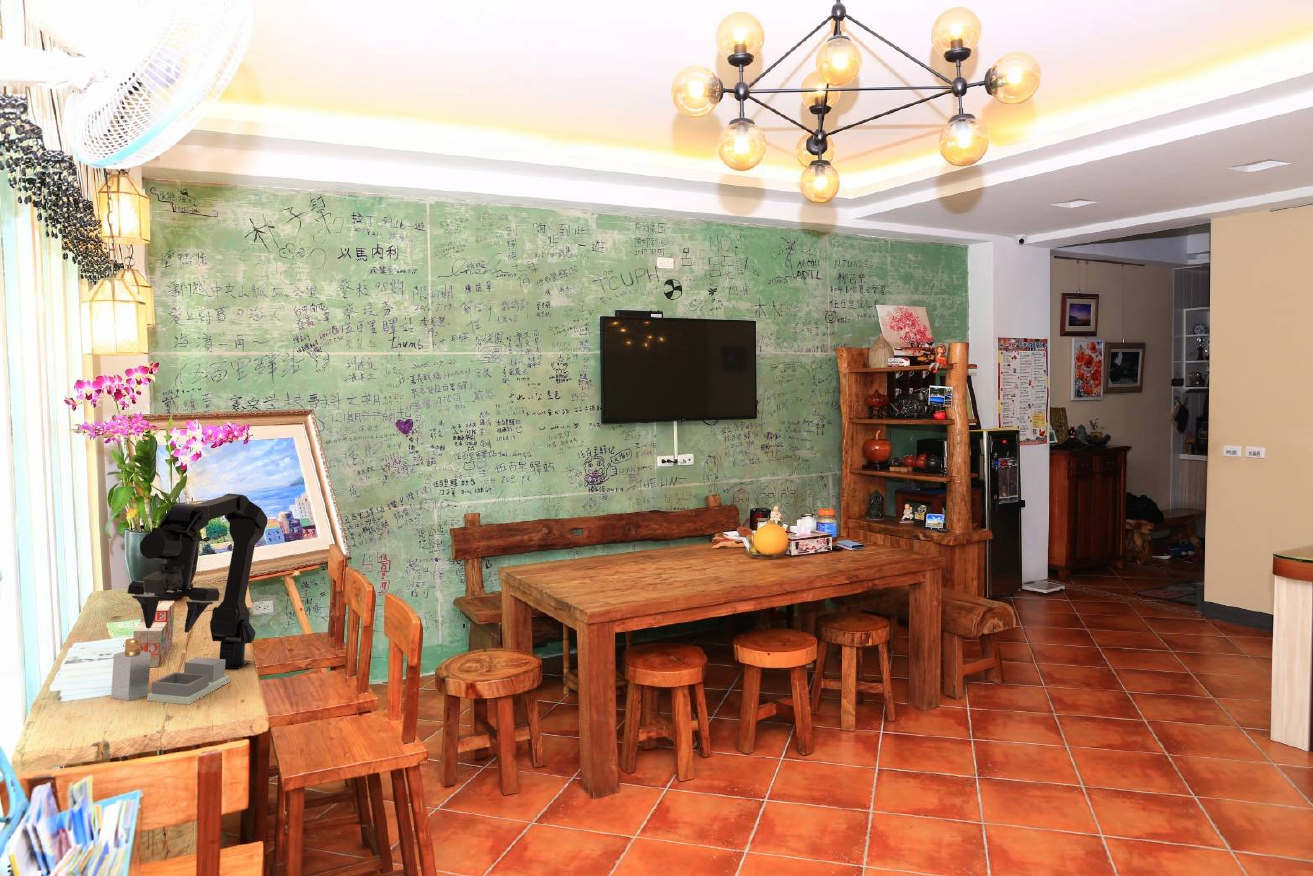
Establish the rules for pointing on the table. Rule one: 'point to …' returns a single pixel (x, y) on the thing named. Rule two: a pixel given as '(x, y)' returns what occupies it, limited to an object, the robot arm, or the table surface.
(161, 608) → the stack of blocks
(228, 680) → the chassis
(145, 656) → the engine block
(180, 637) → the table surface
